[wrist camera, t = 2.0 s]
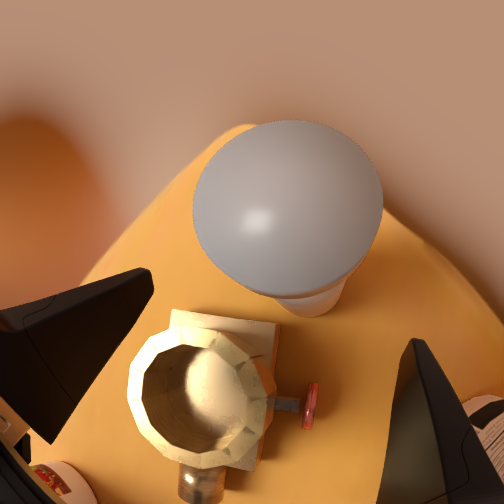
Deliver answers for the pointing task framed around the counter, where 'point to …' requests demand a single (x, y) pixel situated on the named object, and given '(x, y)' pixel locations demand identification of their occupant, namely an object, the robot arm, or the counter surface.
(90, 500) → the milk bottle
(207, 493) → the valve body
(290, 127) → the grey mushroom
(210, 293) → the counter surface
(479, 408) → the supplement can
